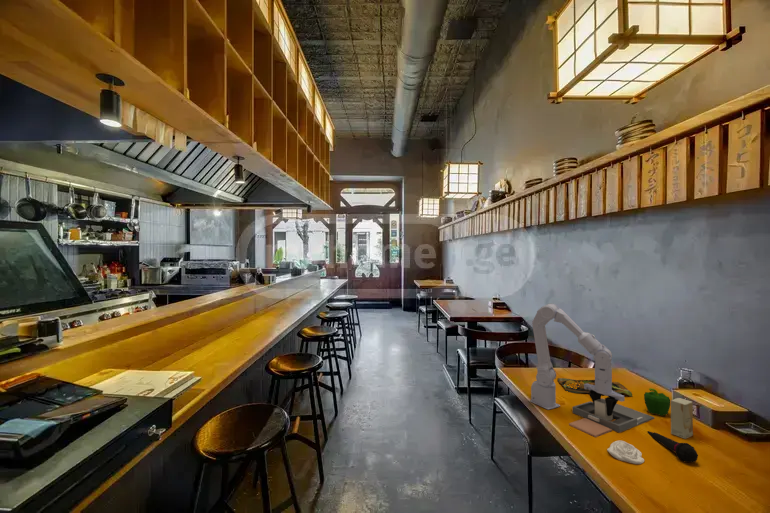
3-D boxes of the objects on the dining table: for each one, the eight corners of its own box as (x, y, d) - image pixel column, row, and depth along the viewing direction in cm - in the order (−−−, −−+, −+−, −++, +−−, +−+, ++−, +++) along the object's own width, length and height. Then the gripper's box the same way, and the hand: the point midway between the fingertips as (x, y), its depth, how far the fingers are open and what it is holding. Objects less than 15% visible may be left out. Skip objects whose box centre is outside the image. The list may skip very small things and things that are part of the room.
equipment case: (571, 413, 138) (571, 407, 138) (607, 401, 149) (607, 396, 149) (617, 433, 122) (617, 426, 122) (654, 418, 133) (654, 412, 133)
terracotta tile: (569, 425, 128) (569, 423, 128) (585, 419, 132) (585, 417, 132) (595, 437, 119) (595, 435, 119) (611, 430, 123) (611, 429, 123)
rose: (622, 433, 114) (652, 448, 105) (622, 446, 114) (652, 462, 105) (599, 437, 111) (628, 453, 102) (600, 450, 111) (628, 468, 102)
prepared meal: (567, 386, 159) (556, 373, 177) (567, 393, 159) (555, 379, 177) (633, 393, 153) (615, 378, 171) (633, 400, 153) (614, 385, 171)
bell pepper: (671, 413, 138) (670, 388, 138) (670, 420, 132) (669, 394, 132) (645, 407, 144) (645, 383, 144) (643, 413, 138) (643, 389, 138)
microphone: (644, 442, 122) (688, 468, 102) (637, 426, 123) (680, 449, 103) (658, 437, 122) (706, 463, 102) (652, 421, 123) (697, 444, 103)
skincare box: (685, 439, 117) (685, 404, 118) (670, 434, 121) (670, 400, 121) (693, 435, 120) (693, 401, 121) (678, 429, 124) (678, 397, 124)
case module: (594, 418, 134) (594, 400, 134) (602, 415, 136) (602, 398, 136) (605, 422, 130) (604, 404, 130) (612, 419, 132) (612, 401, 132)
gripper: (628, 382, 128) (629, 418, 128) (591, 371, 141) (591, 403, 141) (618, 386, 125) (618, 422, 125) (580, 374, 138) (581, 407, 138)
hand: (603, 412), depth 133 cm, fingers closed on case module, 4 cm apart
